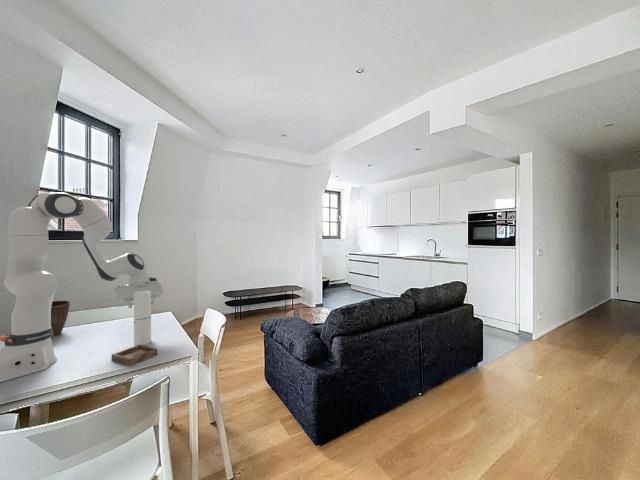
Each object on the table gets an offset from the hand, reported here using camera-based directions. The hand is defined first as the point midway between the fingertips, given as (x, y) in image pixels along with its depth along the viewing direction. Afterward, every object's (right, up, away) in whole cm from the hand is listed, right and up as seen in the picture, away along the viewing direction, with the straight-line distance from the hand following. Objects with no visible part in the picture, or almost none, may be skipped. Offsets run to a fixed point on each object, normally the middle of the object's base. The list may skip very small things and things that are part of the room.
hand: (141, 305), depth 139 cm
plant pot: (-51, -17, +6) cm, 54 cm away
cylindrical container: (+2, -18, -2) cm, 18 cm away
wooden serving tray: (+9, -18, -18) cm, 27 cm away
